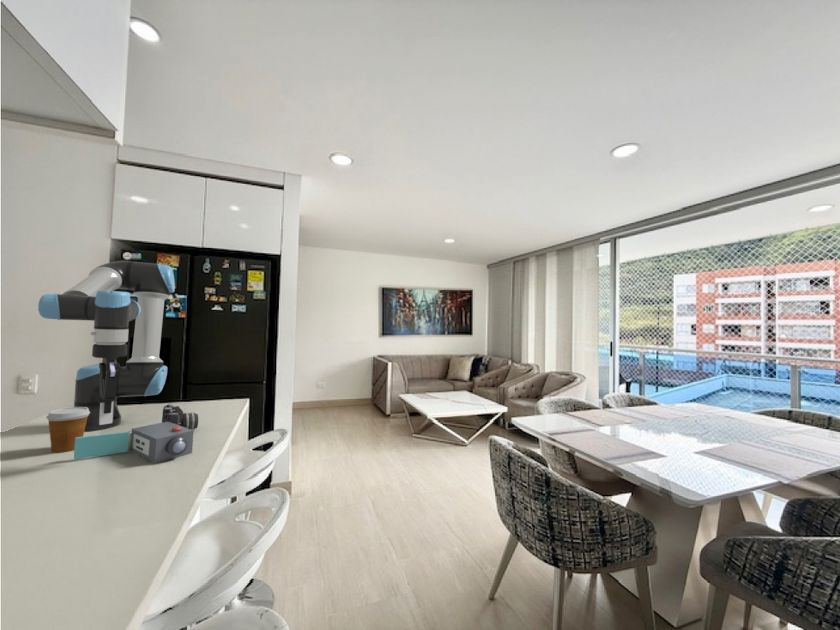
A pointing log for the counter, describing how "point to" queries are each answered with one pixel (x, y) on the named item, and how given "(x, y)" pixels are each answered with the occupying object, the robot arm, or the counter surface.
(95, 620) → the counter surface
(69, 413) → the disposable coffee cup
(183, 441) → the grey boxy piece
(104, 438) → the door
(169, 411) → the camera
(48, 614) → the counter surface
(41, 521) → the counter surface
